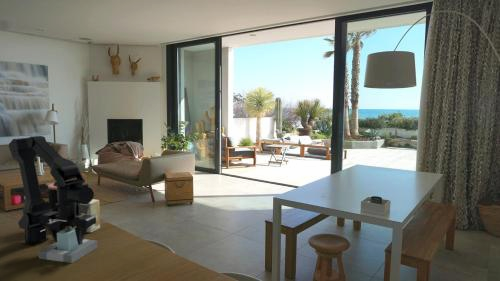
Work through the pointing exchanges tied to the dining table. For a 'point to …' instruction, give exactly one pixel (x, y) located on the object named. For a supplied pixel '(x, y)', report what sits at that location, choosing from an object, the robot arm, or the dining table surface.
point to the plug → (67, 239)
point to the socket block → (67, 252)
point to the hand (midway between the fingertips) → (68, 243)
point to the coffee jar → (54, 200)
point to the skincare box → (95, 211)
